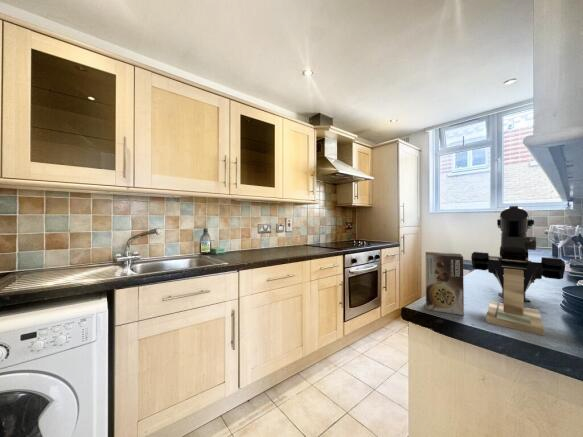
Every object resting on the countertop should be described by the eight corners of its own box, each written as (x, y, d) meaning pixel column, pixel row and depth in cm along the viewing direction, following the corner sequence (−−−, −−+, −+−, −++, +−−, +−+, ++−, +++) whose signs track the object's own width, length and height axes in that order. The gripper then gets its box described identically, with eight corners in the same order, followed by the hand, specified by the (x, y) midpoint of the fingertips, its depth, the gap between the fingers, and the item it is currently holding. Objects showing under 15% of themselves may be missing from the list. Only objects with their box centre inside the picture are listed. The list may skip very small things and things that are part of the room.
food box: (460, 308, 68) (461, 253, 68) (464, 316, 63) (464, 256, 63) (425, 302, 73) (425, 251, 73) (425, 309, 67) (425, 253, 67)
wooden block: (504, 306, 66) (504, 267, 66) (523, 310, 63) (523, 269, 64) (503, 312, 62) (503, 270, 62) (523, 316, 59) (523, 272, 59)
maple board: (490, 306, 71) (490, 300, 71) (538, 315, 64) (538, 309, 64) (486, 321, 59) (486, 315, 59) (544, 335, 52) (544, 328, 52)
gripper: (472, 225, 72) (466, 265, 64) (564, 227, 60) (571, 277, 51) (475, 249, 78) (470, 288, 70) (559, 255, 65) (566, 304, 57)
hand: (513, 289), depth 62 cm, fingers closed on wooden block, 4 cm apart
